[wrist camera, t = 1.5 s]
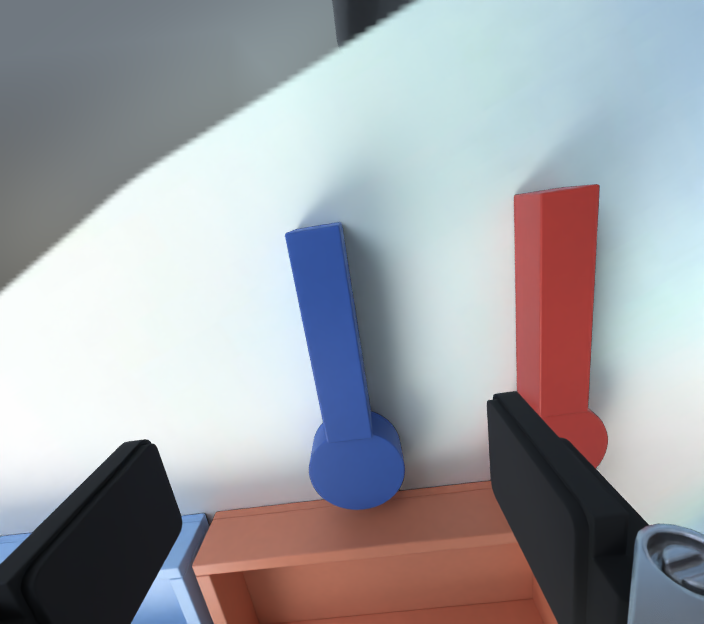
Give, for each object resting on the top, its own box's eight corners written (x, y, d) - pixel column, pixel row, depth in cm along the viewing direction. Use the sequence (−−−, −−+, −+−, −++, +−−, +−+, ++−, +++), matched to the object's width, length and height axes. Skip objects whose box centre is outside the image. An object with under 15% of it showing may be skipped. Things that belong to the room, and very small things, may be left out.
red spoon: (594, 182, 14) (637, 178, 12) (581, 456, 18) (612, 490, 16) (483, 199, 14) (505, 198, 12) (493, 466, 18) (512, 501, 16)
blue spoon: (370, 217, 14) (373, 219, 12) (404, 476, 18) (411, 512, 16) (266, 233, 15) (251, 238, 12) (321, 486, 18) (317, 522, 16)
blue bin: (-89, 545, 20) (-164, 603, 17) (205, 512, 19) (178, 567, 16) (-18, 649, 22) (-73, 714, 20) (244, 624, 22) (227, 689, 19)
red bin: (215, 511, 19) (190, 566, 16) (541, 474, 18) (576, 525, 15) (253, 623, 21) (238, 688, 19) (540, 596, 21) (570, 659, 18)
